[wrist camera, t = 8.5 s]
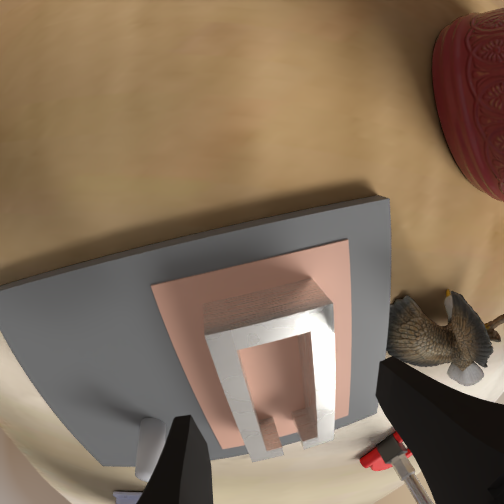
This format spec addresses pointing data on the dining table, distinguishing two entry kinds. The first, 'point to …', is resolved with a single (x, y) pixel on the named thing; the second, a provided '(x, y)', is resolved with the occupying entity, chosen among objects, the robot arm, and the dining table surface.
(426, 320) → the eagle figurine
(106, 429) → the post board
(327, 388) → the c link
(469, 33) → the canister
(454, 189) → the dining table surface
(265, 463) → the dining table surface
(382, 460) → the tow hook
